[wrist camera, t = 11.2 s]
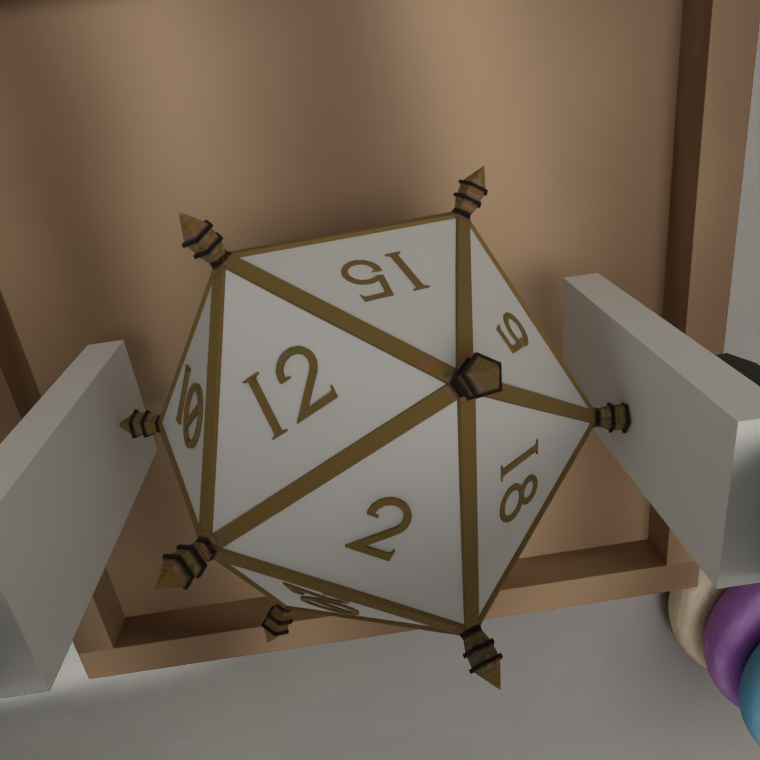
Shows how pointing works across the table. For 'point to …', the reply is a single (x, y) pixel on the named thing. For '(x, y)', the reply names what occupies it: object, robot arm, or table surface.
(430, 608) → the game die
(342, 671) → the table surface
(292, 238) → the square tray
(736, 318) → the table surface
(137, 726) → the table surface
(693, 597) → the stacking toy
